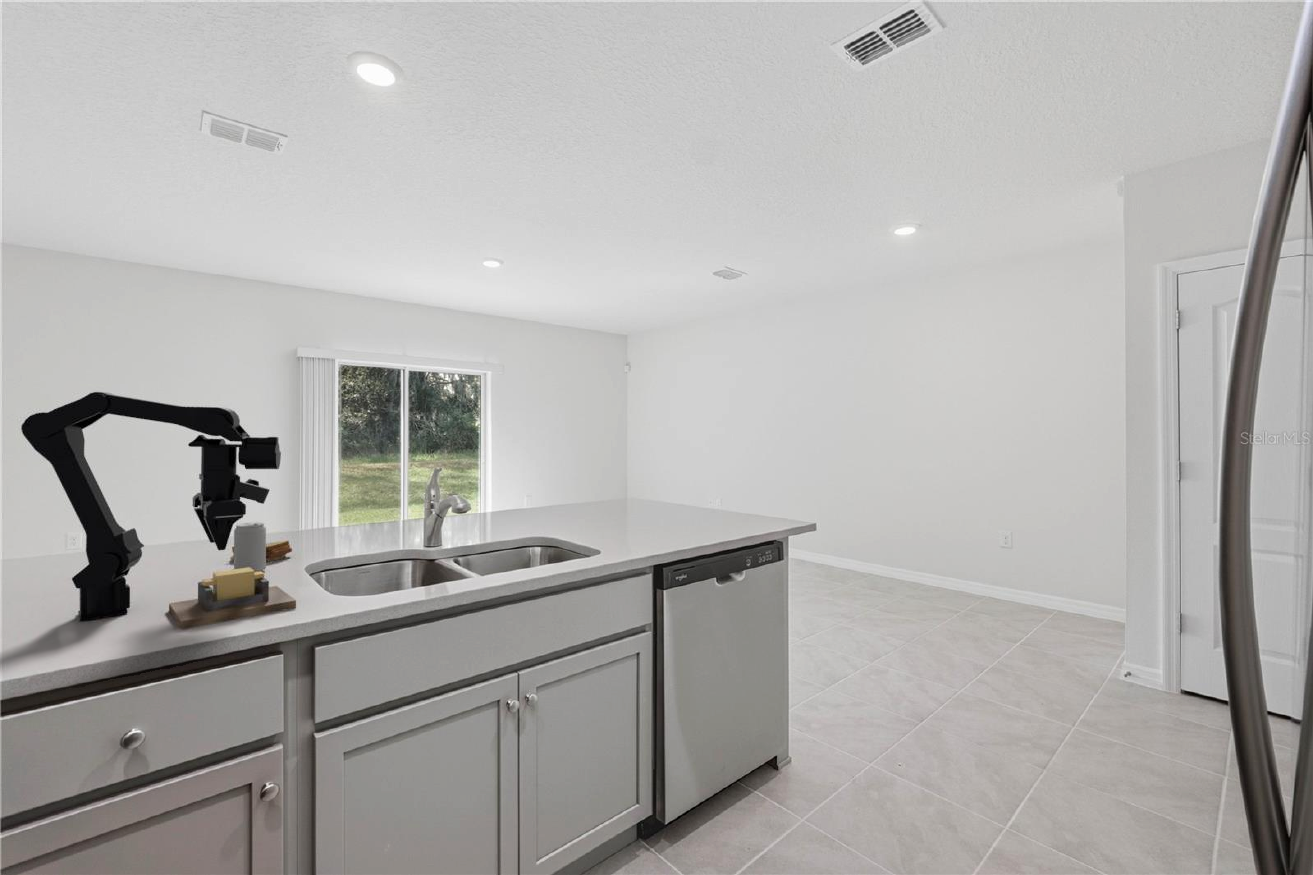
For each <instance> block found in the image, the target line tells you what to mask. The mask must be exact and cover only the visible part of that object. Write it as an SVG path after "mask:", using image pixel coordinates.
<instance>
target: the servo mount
mask: <svg viewBox="0 0 1313 875" xmlns="http://www.w3.org/2000/svg"><path fill="white" fill-rule="evenodd" d="M269 582H270V581H269V580H268V579H267V578H265V577H264V578H258V579H254V595H250V596H244V597H238V598H232V599H226V600H220V601H214V602H213V588H212V587H211V586H204V585H203V584H202V581H199V582H197V598H194V599H189V600H188V599H187V600H182V601H176V602H171V603H169V604H168V612H169V613H170V615H171V616H172V618H173V619H174V621H175V622H176V624H177V625H178V627H179V628H180V630H186V629H191V628H196V627H203V626H207V625H212V624H218V623H223V622H228V621H233V620H239V619H243V618H249V617H255V616H260V615H264V614H265V615H266V614H270V613H271V614H272V613H275V612H281V611H286V610H291V609H296V608H297V600H296V599H295V598H294V597H292V596H291V595H289V594H288V593H287V592H285V591H284V590H283V589H282V588H280V587H279V586H278V585H274V586H269V584H270V583H269ZM285 609H286V610H285Z"/></svg>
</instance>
